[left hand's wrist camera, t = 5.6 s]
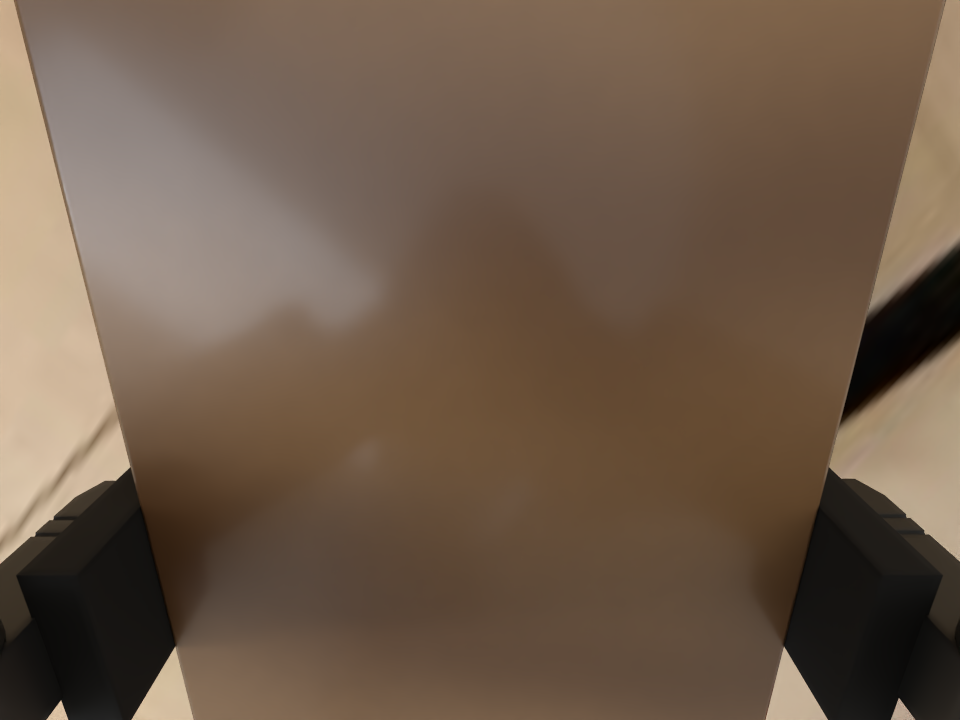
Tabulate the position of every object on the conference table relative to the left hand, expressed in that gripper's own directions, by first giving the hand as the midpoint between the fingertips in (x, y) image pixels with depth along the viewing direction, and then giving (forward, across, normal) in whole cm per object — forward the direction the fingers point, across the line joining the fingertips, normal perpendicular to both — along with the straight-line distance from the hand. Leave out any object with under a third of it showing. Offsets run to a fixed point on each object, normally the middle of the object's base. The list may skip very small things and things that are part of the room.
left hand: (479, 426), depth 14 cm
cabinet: (+3, 0, -6) cm, 7 cm away
